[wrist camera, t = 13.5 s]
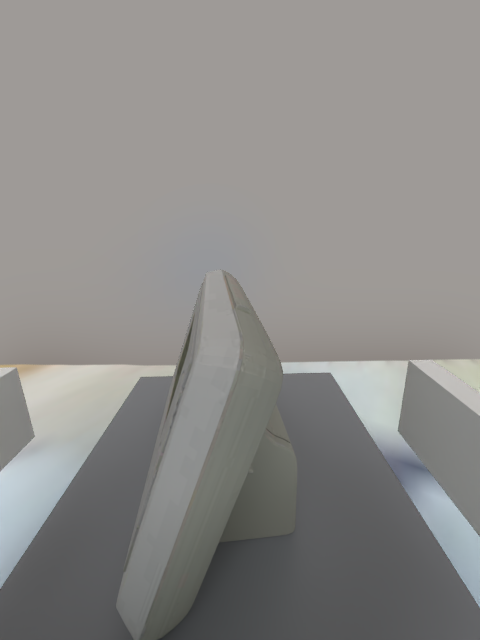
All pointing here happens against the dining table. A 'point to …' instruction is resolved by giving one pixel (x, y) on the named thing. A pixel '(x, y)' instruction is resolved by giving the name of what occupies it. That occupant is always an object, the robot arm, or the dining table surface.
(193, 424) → the digital clock
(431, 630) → the docking pad
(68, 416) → the dining table surface
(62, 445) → the dining table surface
